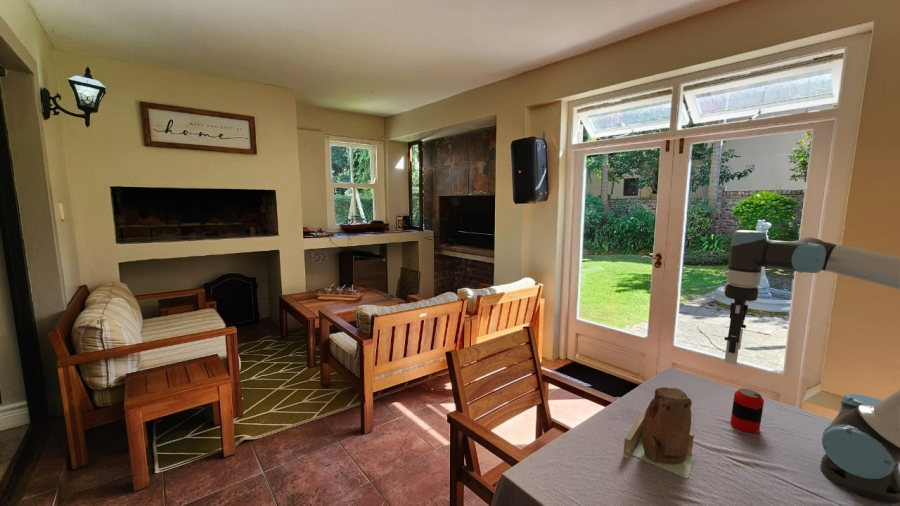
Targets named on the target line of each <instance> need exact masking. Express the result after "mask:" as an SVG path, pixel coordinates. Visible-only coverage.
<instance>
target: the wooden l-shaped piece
mask: <svg viewBox="0 0 900 506" xmlns="http://www.w3.org/2000/svg"><path fill="white" fill-rule="evenodd" d="M644 418H645V415H642V416H641V415H638V416H637V418H636V420H635V421H634V422H633V425H632V426H631V428H630V430H628V433H627V434H626V435H625V437H624V443H623V453H622V458H624V459H627V460H629V459H630V458H631V456H632V454H633V452H634V450H635V449H636V447H637V445H638V443H639V442H640V440H641V438H642V437H643V426H644ZM689 437H690V440H689V448H688V453H687V454H688V455H691V456H692V453H693V447H694V446H693V445H694V437H695V433H694V432H691V431H690V434H689Z"/></svg>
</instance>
